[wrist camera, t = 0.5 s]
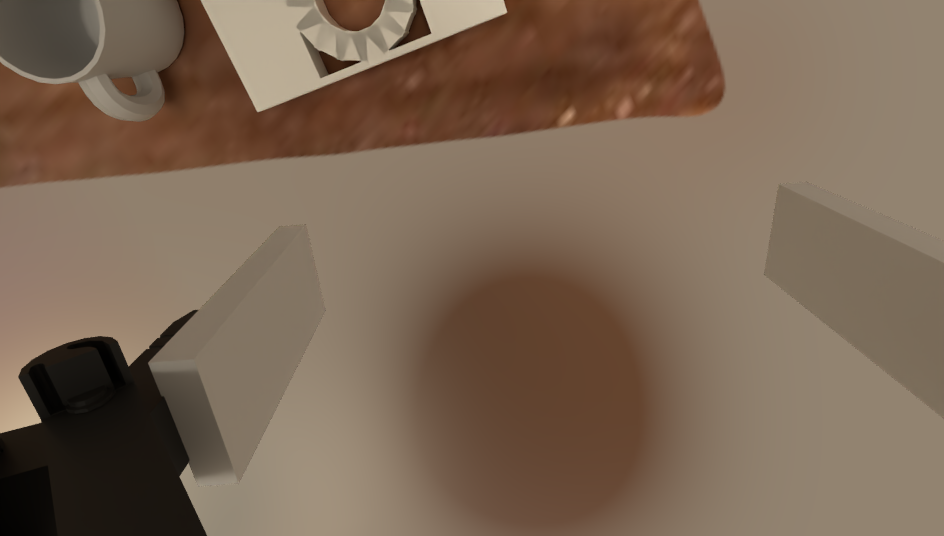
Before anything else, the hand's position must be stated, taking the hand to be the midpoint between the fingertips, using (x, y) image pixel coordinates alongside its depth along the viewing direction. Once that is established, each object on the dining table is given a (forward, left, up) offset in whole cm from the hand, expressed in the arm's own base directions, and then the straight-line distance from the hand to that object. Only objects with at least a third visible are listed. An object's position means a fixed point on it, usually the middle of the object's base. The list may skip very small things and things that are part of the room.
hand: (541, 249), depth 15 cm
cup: (-14, -21, -26) cm, 36 cm away
